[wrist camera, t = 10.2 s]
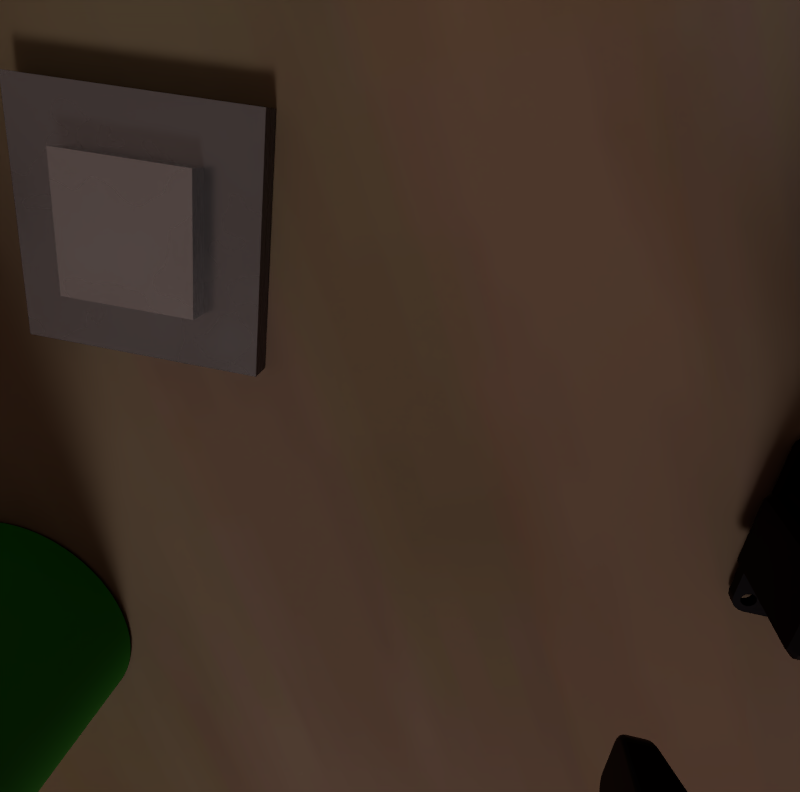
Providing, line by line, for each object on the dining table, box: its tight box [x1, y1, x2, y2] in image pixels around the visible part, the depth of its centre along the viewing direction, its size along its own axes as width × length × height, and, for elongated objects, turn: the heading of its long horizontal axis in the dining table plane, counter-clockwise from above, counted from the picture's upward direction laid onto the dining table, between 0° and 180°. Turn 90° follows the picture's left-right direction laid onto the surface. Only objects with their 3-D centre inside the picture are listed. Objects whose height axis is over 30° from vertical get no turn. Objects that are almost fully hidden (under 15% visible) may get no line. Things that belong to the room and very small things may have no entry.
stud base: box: [0, 69, 276, 377], centre depth 19 cm, size 8×8×2 cm
